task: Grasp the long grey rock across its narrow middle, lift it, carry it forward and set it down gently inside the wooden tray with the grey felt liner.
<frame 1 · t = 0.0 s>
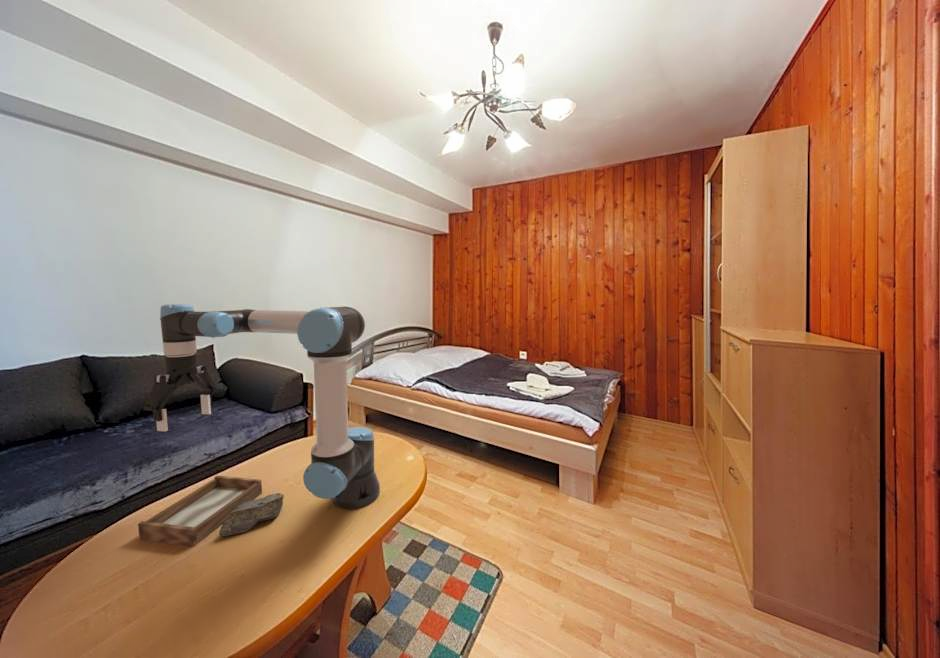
hand: (186, 421, 100), 28 cm above the table, fingers open, 13 cm apart
wooden tray: (207, 513, 100), on the table
rock: (254, 523, 96), on the table
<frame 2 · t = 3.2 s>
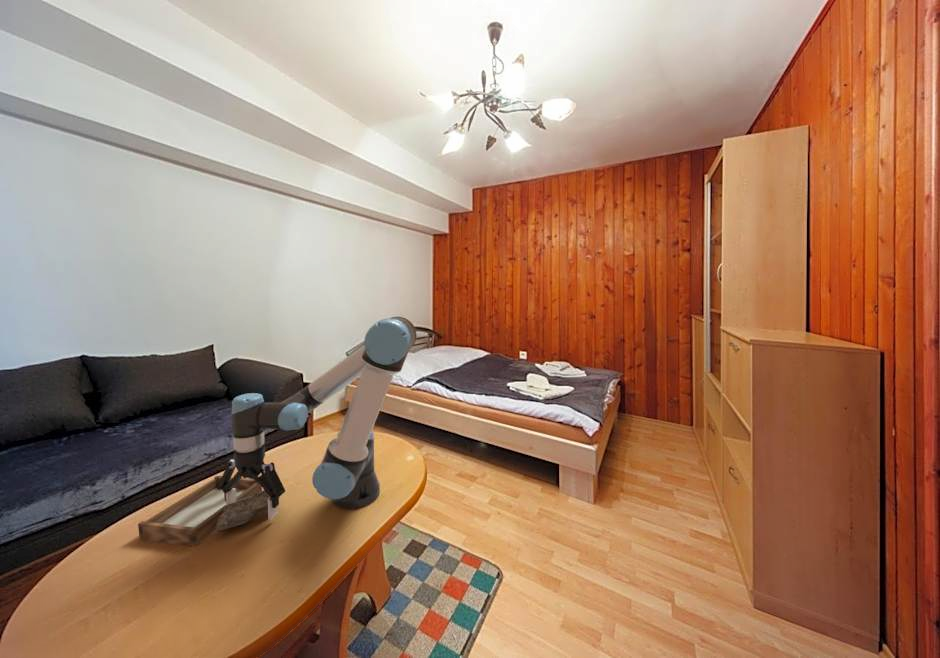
hand: (252, 514, 97), 2 cm above the table, fingers open, 13 cm apart
rock: (251, 518, 96), point 1 cm above the table, touching gripper
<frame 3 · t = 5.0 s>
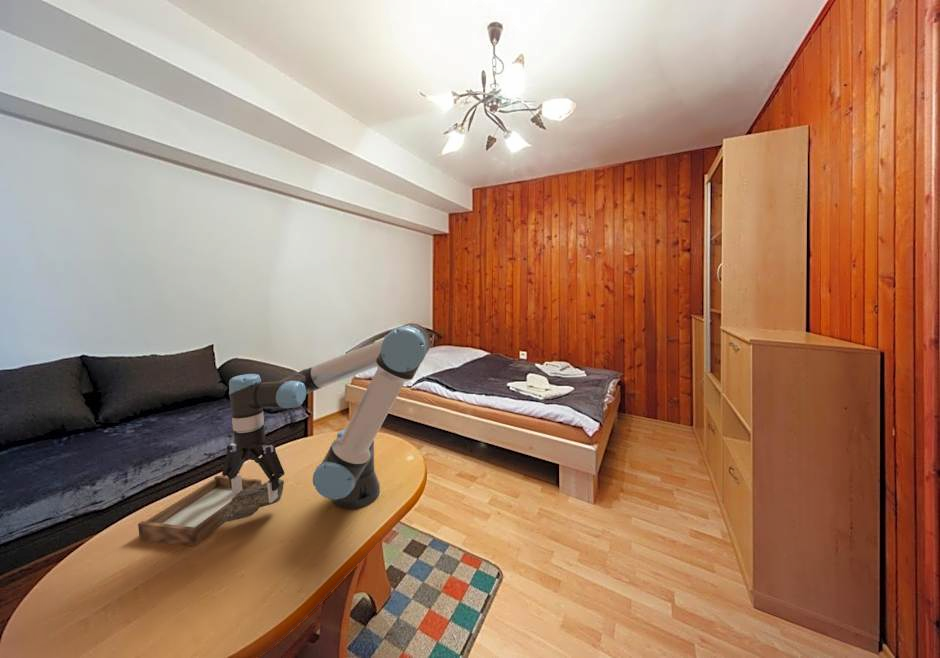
hand: (255, 498, 96), 7 cm above the table, fingers closed on rock, 11 cm apart
rock: (255, 509, 96), point 4 cm above the table, touching gripper
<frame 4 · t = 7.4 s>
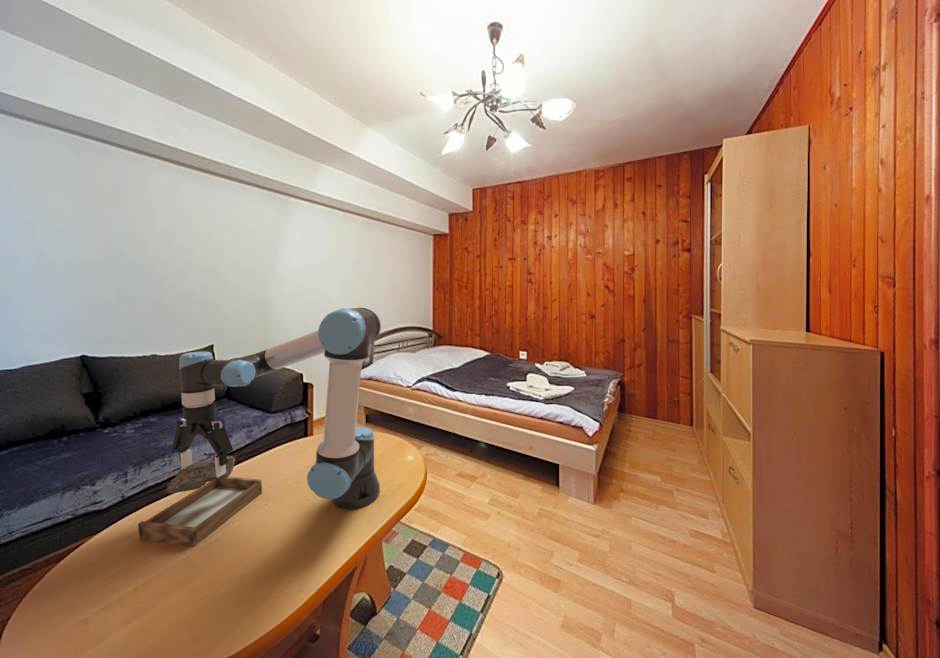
hand: (204, 473, 98), 13 cm above the table, fingers closed on rock, 11 cm apart
rock: (203, 483, 99), point 10 cm above the table, touching gripper
when the fingers open (5 cm above the table, at t = 9.8 s): rock stays where it is, resting on wooden tray.
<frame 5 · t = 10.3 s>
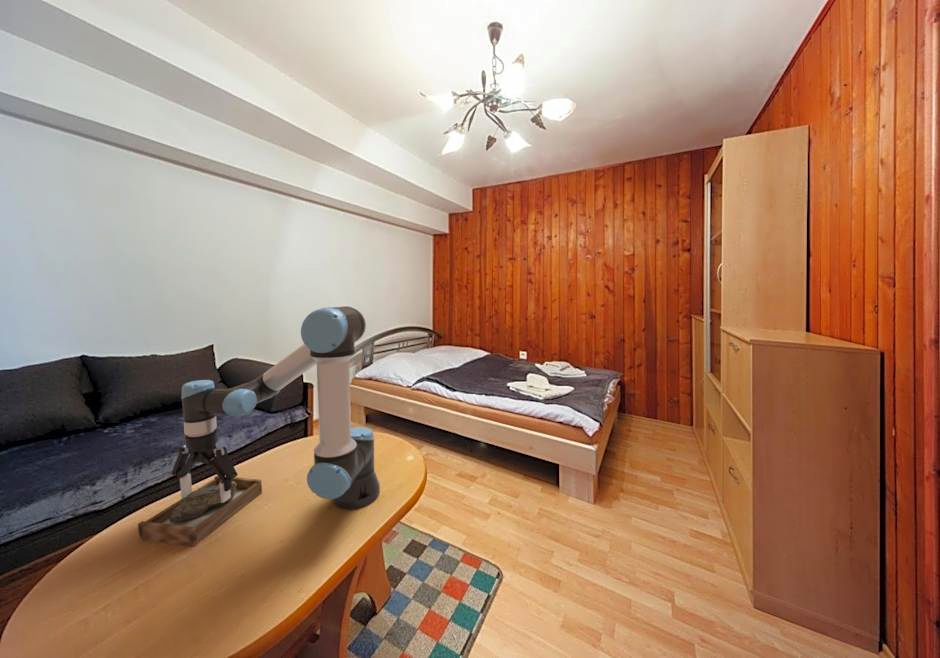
hand: (206, 498, 99), 5 cm above the table, fingers open, 13 cm apart
rock: (205, 509, 100), point 1 cm above the table, touching wooden tray
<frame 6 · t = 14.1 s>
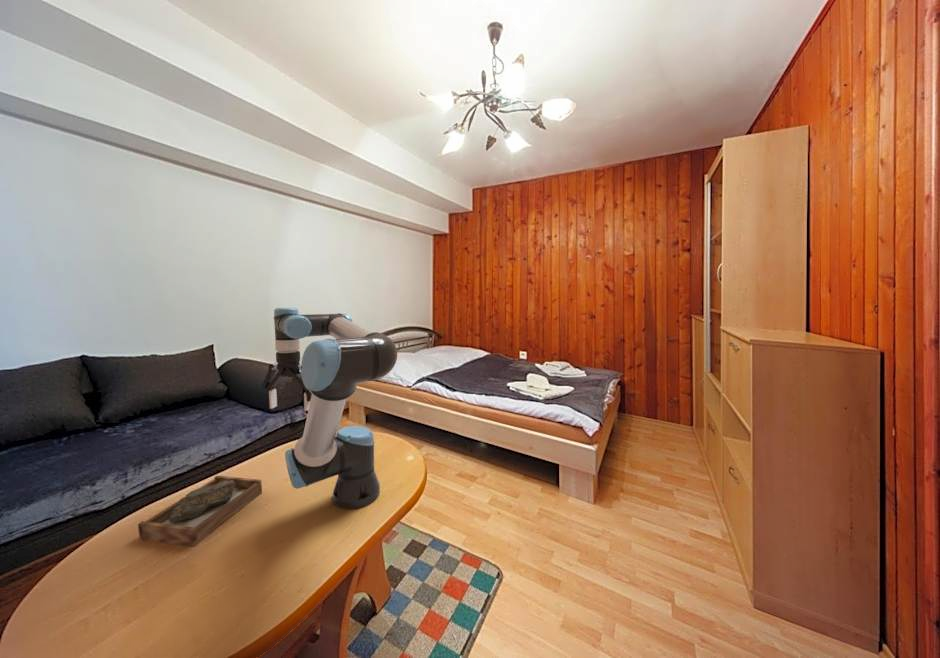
hand: (290, 408, 117), 27 cm above the table, fingers open, 13 cm apart
at the end: rock inside the target area on the wooden tray (1.0 cm from its centre), point 1.3 cm above the wooden tray's base; rock touching wooden tray; the gripper is holding nothing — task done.
